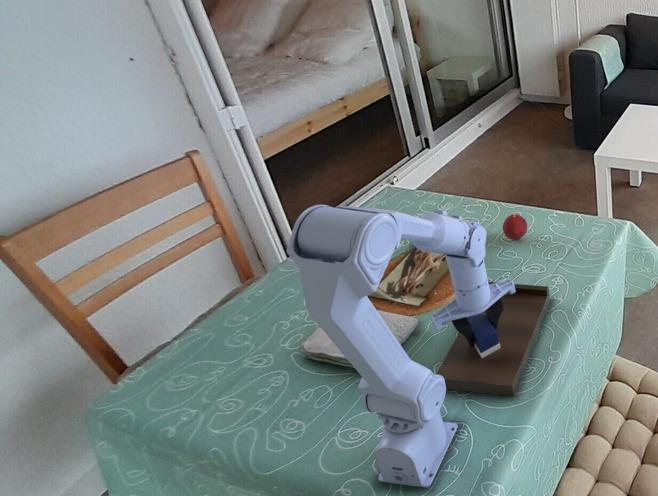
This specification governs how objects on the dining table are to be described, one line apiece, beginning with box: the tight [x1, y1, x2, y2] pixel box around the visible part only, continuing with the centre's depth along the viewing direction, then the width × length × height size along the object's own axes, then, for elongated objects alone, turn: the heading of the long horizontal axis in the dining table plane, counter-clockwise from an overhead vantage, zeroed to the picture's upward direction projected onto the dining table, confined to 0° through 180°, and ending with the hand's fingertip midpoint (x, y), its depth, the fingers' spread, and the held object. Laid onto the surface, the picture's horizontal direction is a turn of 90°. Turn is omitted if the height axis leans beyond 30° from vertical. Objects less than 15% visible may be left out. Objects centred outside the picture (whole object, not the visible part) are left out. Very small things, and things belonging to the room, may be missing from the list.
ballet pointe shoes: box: [368, 227, 486, 307], centre depth 115 cm, size 14×7×28 cm
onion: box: [502, 212, 528, 241], centre depth 121 cm, size 6×6×8 cm
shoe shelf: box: [434, 281, 551, 397], centre depth 94 cm, size 22×14×4 cm, turn 173°
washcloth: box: [300, 309, 419, 369], centre depth 95 cm, size 12×18×3 cm, turn 78°
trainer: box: [468, 313, 501, 358], centre depth 92 cm, size 8×4×4 cm, turn 38°
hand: (482, 336), depth 92 cm, fingers closed on trainer, 3 cm apart
